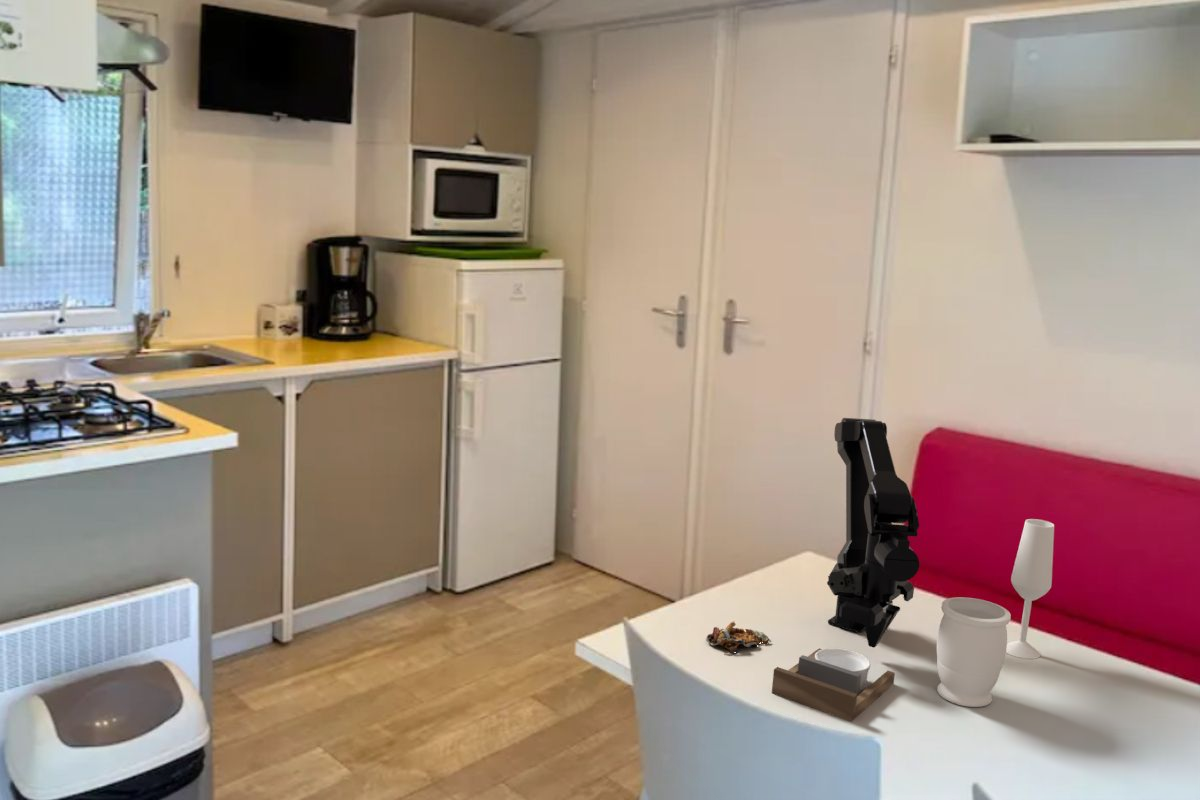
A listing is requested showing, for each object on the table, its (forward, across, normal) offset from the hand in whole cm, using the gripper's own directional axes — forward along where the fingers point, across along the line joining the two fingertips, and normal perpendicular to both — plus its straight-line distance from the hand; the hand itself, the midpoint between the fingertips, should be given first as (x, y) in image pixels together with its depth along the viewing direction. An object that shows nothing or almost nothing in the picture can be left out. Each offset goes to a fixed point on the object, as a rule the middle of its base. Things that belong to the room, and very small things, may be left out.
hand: (872, 646), depth 180 cm
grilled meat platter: (+3, +10, -20) cm, 23 cm away
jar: (+2, +3, +17) cm, 17 cm away
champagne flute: (+2, -23, +19) cm, 30 cm away
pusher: (+2, +18, 0) cm, 18 cm away
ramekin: (+2, +13, 0) cm, 13 cm away
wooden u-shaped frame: (+2, +15, 0) cm, 15 cm away
